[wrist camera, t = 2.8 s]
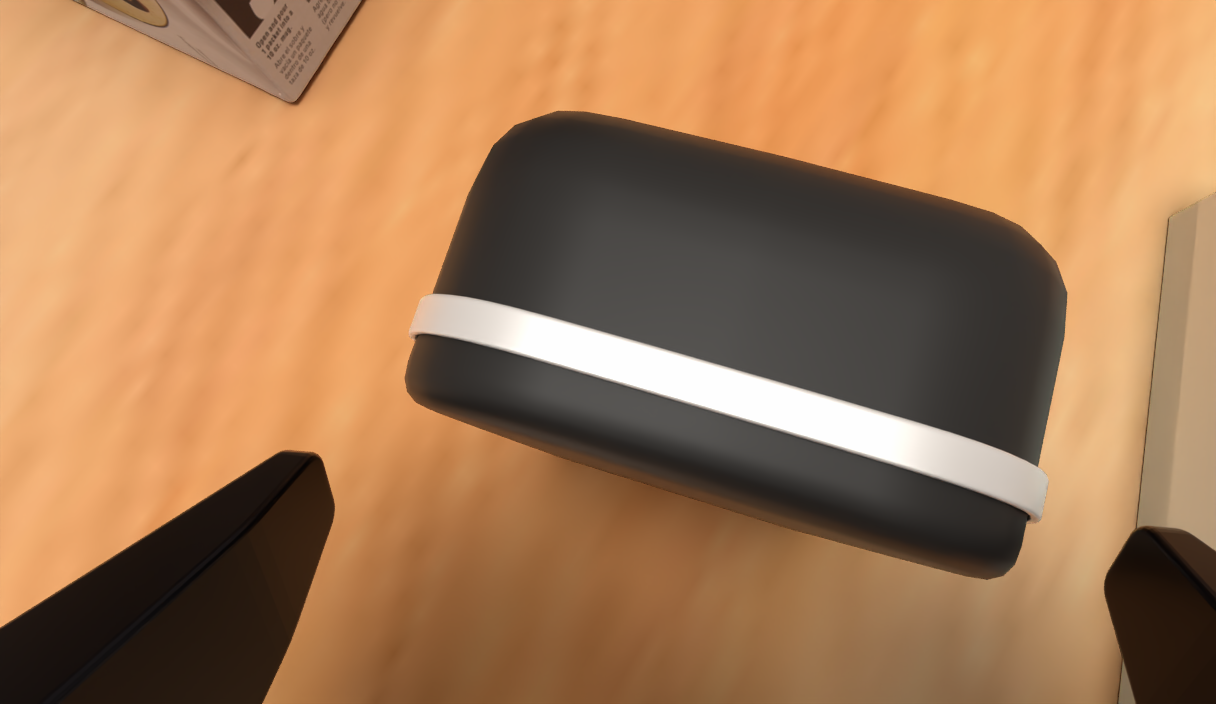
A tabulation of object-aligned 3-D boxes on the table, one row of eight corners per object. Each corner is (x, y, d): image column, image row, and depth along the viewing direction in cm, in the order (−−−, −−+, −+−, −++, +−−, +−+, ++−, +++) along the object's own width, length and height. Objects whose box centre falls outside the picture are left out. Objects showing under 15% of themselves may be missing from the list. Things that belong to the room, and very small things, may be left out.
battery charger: (856, 382, 18) (1198, 183, 6) (817, 537, 17) (1121, 619, 6) (581, 304, 18) (457, 8, 7) (534, 449, 18) (319, 372, 7)
